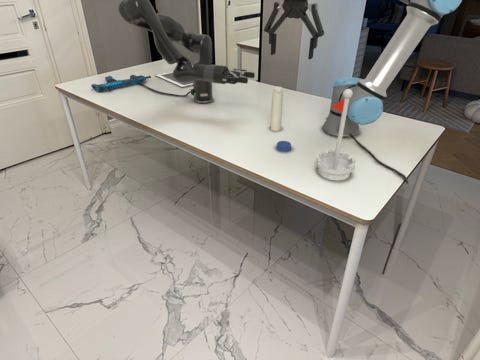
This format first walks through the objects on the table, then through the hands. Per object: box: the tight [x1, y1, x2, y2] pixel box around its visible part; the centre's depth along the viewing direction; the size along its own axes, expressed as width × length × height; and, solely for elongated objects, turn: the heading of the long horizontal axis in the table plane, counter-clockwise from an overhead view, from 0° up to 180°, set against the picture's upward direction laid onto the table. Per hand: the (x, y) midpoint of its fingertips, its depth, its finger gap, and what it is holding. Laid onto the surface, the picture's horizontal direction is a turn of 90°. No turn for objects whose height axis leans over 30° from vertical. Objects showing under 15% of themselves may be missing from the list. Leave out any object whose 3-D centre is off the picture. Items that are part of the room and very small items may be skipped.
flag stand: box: [315, 89, 356, 181], centre depth 112 cm, size 13×13×30 cm
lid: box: [276, 140, 292, 153], centre depth 135 cm, size 6×6×2 cm
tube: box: [270, 86, 284, 132], centre depth 147 cm, size 5×5×18 cm
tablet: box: [155, 71, 194, 88], centre depth 216 cm, size 32×20×1 cm, turn 41°
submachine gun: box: [90, 74, 152, 92], centre depth 206 cm, size 34×4×25 cm
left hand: (251, 77), depth 143 cm, fingers open, 8 cm apart
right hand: (291, 56), depth 116 cm, fingers open, 13 cm apart
